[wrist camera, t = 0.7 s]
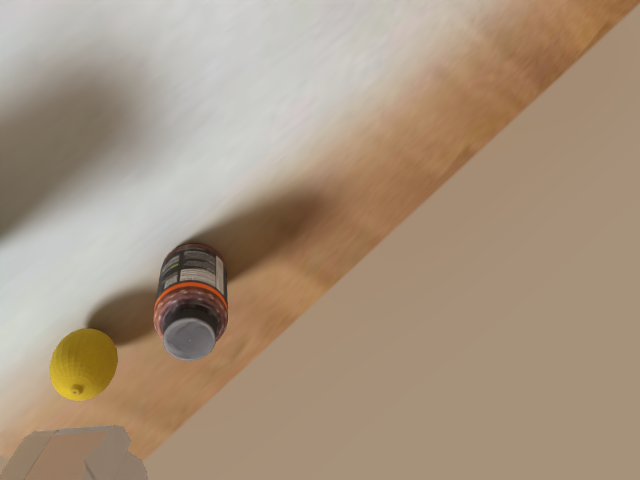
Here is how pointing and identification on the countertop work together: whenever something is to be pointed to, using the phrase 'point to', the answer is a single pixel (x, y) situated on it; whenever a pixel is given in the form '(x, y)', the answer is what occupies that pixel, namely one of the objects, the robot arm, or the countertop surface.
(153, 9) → the countertop surface
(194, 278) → the supplement bottle
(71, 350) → the lemon
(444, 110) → the countertop surface
